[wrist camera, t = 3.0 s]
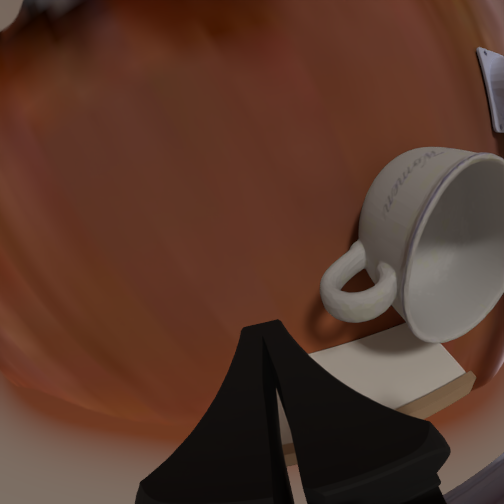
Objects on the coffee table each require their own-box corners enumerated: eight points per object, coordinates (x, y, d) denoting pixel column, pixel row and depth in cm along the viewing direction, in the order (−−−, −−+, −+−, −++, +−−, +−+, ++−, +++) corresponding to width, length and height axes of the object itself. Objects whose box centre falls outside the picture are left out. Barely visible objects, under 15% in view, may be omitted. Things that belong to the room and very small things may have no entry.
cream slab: (418, 314, 21) (476, 377, 13) (416, 330, 22) (469, 393, 14) (234, 368, 21) (240, 462, 13) (240, 382, 22) (247, 473, 14)
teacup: (455, 146, 17) (534, 159, 9) (448, 274, 20) (508, 319, 13) (285, 149, 16) (332, 150, 9) (299, 308, 20) (333, 389, 12)
